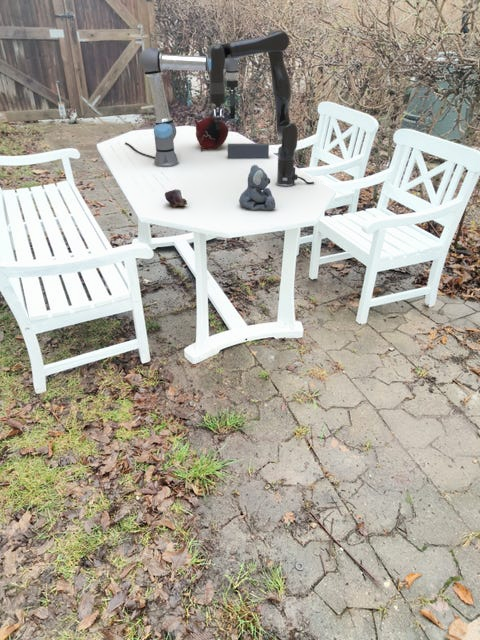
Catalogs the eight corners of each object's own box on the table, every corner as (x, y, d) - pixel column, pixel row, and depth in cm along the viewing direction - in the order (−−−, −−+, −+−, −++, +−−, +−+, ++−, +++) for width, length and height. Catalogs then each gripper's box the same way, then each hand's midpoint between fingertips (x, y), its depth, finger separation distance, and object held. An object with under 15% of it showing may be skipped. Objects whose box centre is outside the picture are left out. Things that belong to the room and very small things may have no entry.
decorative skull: (193, 122, 333) (191, 119, 309) (224, 115, 332) (225, 111, 308) (200, 152, 340) (198, 151, 316) (231, 145, 339) (231, 144, 315)
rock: (181, 203, 237) (163, 205, 233) (179, 186, 233) (160, 188, 229) (189, 206, 227) (170, 209, 223) (187, 189, 224) (168, 191, 220)
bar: (227, 158, 304) (227, 145, 299) (228, 156, 308) (227, 143, 303) (268, 158, 303) (268, 145, 299) (268, 156, 308) (268, 143, 303)
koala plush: (276, 211, 223) (277, 171, 212) (240, 212, 222) (240, 172, 211) (271, 199, 237) (272, 161, 226) (237, 200, 236) (237, 162, 225)
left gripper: (237, 82, 269) (238, 120, 281) (238, 77, 289) (238, 113, 302) (225, 82, 269) (226, 120, 281) (226, 77, 290) (227, 113, 302)
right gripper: (225, 94, 213) (226, 130, 223) (224, 90, 225) (225, 124, 234) (209, 94, 213) (210, 130, 222) (209, 90, 225) (211, 124, 234)
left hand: (232, 116), depth 291 cm, fingers open, 13 cm apart
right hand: (218, 127), depth 228 cm, fingers open, 8 cm apart
